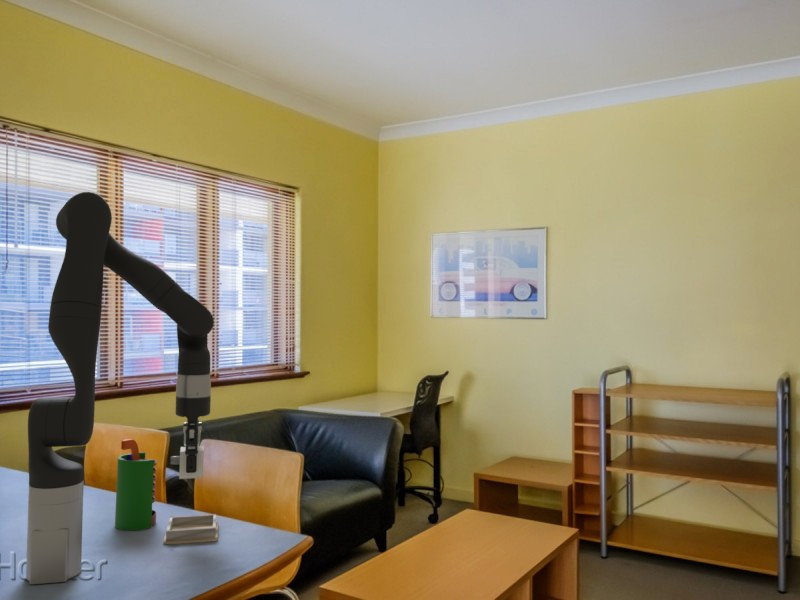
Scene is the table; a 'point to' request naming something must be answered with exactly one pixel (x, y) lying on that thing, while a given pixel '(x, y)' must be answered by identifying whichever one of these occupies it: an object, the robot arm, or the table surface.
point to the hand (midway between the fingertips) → (191, 469)
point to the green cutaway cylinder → (135, 489)
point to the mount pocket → (191, 529)
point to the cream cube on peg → (182, 462)
